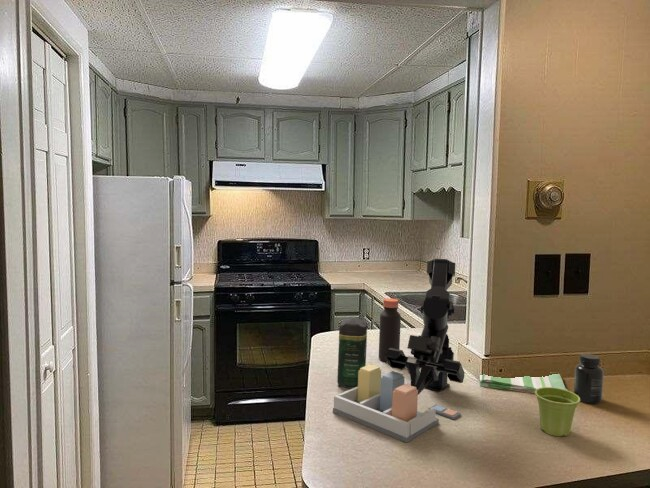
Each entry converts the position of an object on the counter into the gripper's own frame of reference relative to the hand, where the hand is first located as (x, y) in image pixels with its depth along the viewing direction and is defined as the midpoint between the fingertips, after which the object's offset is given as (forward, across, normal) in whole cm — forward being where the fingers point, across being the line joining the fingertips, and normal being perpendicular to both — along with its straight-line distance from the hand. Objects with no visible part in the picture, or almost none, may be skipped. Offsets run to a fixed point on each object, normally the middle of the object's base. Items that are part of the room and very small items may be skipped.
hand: (412, 396), depth 114 cm
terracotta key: (+6, -1, +2) cm, 7 cm away
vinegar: (-24, -26, +34) cm, 49 cm away
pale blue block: (+2, -7, +6) cm, 10 cm away
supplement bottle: (-25, +33, +36) cm, 55 cm away
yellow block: (+1, -14, +7) cm, 16 cm away
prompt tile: (-3, +4, +13) cm, 14 cm away
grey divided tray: (+5, -7, +5) cm, 10 cm away
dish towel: (-27, +15, +38) cm, 49 cm away
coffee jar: (-6, -25, +16) cm, 30 cm away
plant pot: (-7, +28, +18) cm, 34 cm away
